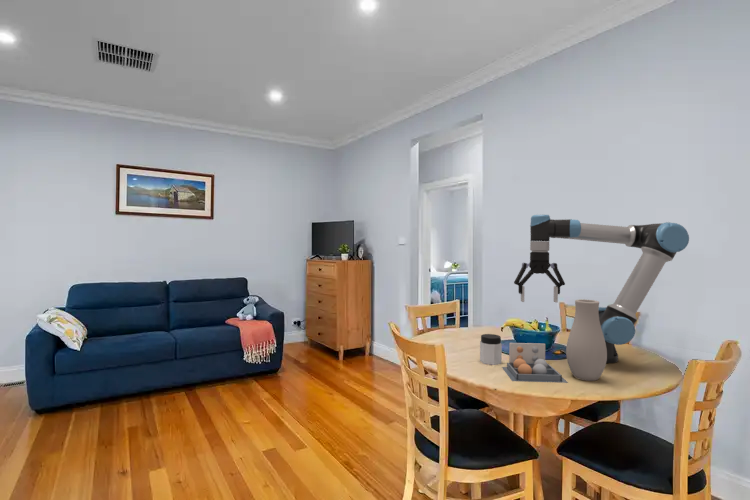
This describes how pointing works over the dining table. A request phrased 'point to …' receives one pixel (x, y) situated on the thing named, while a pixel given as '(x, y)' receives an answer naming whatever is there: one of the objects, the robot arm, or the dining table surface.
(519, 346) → the rack
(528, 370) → the ball
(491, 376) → the dining table surface
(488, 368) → the dining table surface
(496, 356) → the jar
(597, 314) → the vase
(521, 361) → the terracotta ball
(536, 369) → the grey ball
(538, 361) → the grey ball
